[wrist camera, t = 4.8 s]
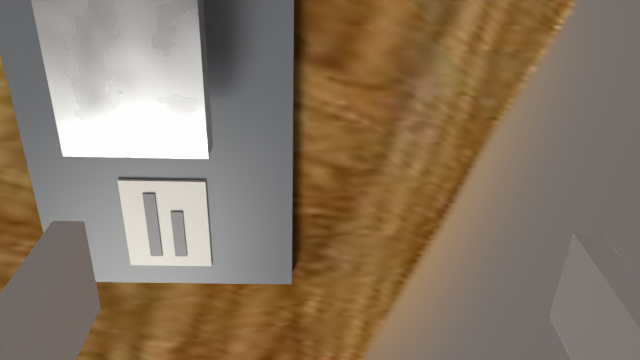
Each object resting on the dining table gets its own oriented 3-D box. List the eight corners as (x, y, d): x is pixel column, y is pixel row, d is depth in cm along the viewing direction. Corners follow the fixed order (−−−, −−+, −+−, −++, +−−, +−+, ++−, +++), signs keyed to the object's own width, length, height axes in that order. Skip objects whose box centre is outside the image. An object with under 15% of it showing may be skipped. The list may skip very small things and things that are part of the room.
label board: (292, 272, 38) (291, 287, 37) (62, 269, 38) (53, 284, 37) (295, -169, 26) (295, -171, 25) (-42, -181, 26) (-60, -183, 25)
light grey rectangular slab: (219, 127, 32) (207, 160, 28) (89, 124, 32) (61, 157, 28) (202, -163, 25) (184, -167, 22) (38, -169, 25) (-7, -173, 21)
